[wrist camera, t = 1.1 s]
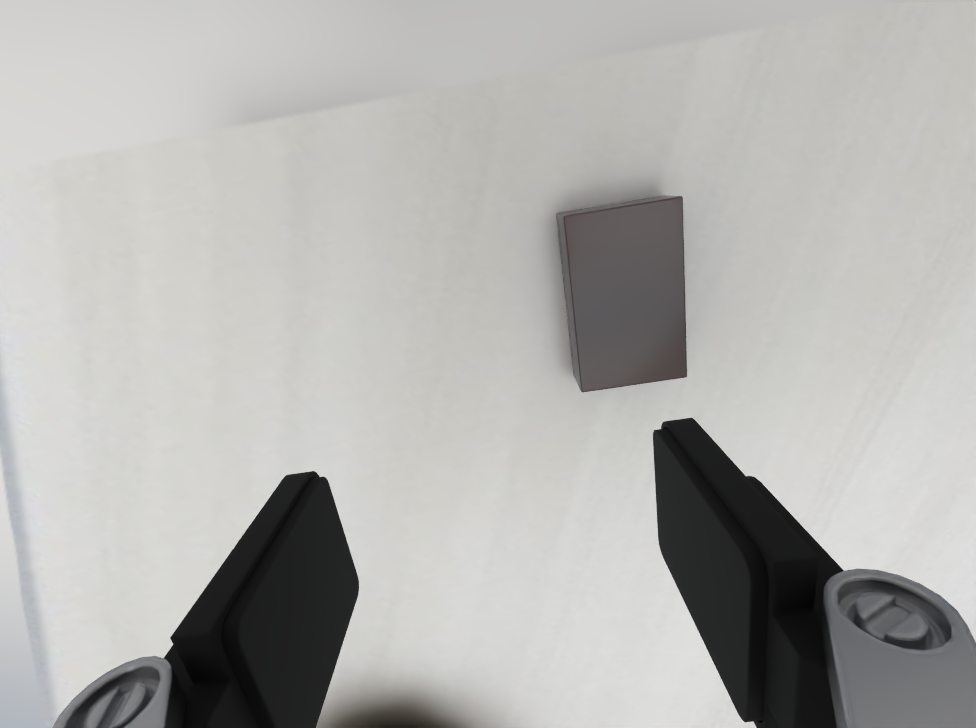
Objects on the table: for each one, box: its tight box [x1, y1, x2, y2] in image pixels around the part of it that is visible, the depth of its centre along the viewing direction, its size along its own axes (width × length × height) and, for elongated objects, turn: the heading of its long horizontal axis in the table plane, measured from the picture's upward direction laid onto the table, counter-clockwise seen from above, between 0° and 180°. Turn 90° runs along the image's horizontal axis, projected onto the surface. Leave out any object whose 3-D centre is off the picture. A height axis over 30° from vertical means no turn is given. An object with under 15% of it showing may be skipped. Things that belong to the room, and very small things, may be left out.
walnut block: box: [557, 196, 687, 392], centre depth 25 cm, size 9×6×2 cm, turn 9°
